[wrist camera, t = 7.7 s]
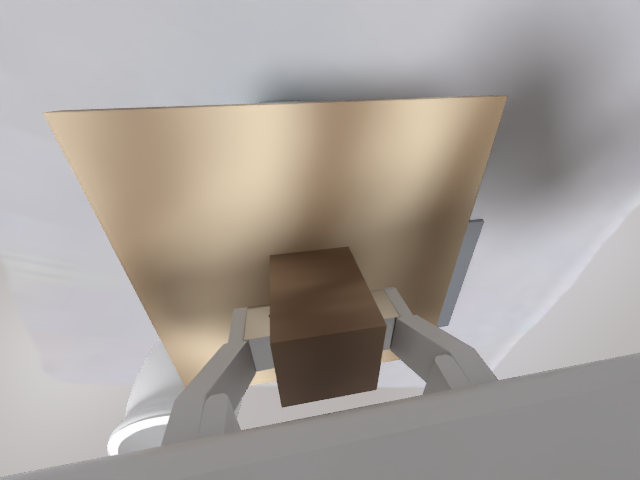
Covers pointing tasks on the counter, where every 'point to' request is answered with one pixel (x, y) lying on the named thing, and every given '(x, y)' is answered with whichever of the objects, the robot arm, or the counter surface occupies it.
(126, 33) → the counter surface
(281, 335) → the lid
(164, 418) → the jar
